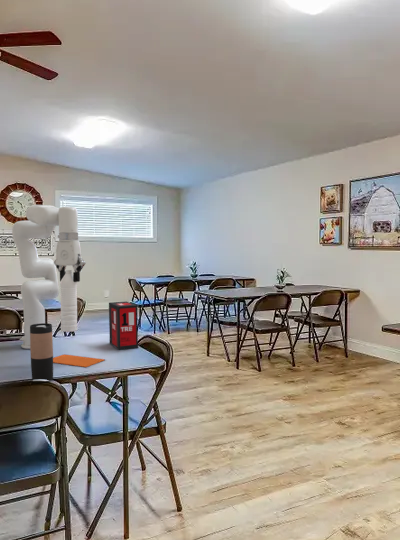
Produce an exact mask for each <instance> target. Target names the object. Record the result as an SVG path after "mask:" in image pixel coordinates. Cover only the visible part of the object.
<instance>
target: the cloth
mask: <svg viewBox="0 0 400 540" xmlns="http://www.w3.org/2000/svg"><path fill="white" fill-rule="evenodd" d="M105 360H106V359H103V358H96V357H87V356H79V355H73V354H61V355H57V356H55V357H54V356H53V364H58V365H66V366H73V367H74V366H75V367H81V368H88V367H91V366H94V365H96V364H99V363H101V362H104V361H105Z"/></svg>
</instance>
